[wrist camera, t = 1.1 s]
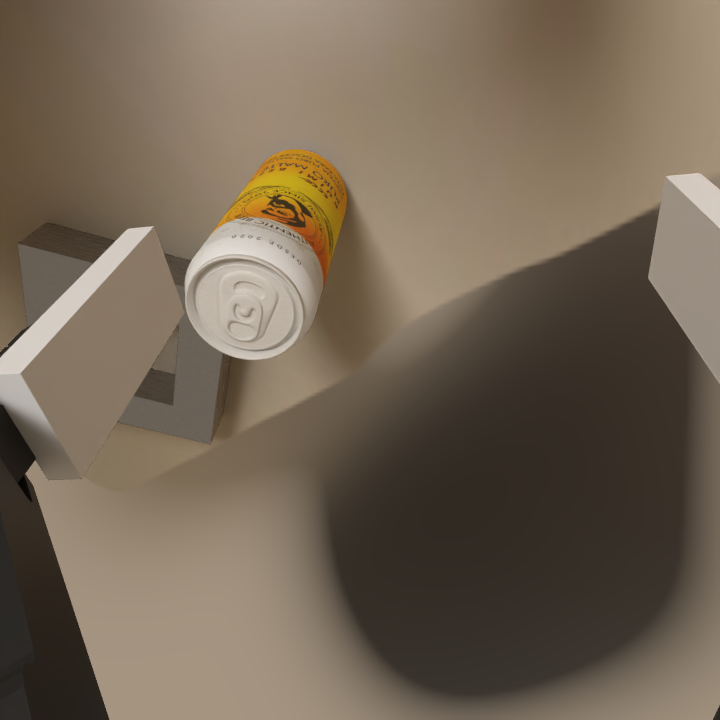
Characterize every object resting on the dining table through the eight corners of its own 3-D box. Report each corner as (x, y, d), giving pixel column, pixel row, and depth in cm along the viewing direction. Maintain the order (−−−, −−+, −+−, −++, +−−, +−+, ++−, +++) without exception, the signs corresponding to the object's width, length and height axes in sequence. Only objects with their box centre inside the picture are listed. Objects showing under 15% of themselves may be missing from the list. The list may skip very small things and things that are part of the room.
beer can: (359, 162, 36) (327, 272, 24) (335, 248, 40) (296, 382, 28) (264, 132, 36) (183, 229, 24) (248, 222, 39) (170, 346, 27)
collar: (57, 375, 49) (35, 402, 46) (46, 222, 41) (18, 243, 38) (222, 415, 50) (210, 444, 47) (243, 274, 42) (229, 298, 39)
